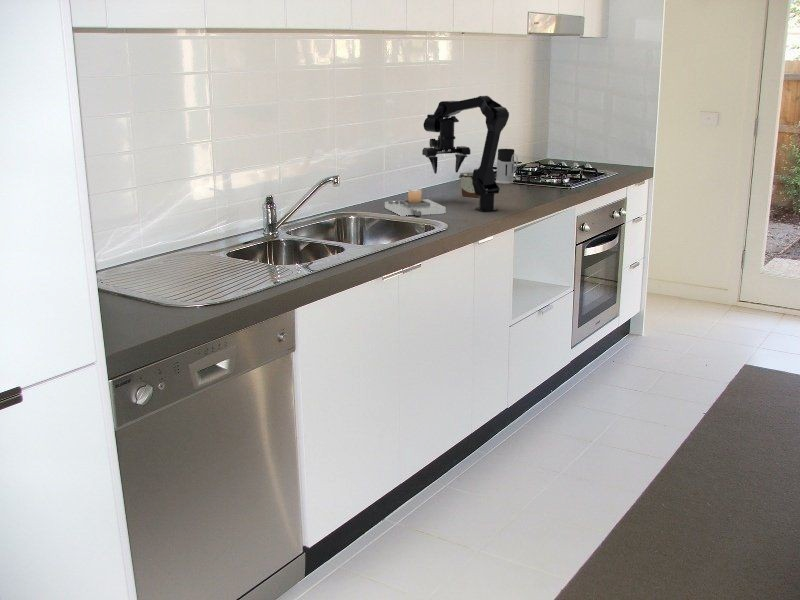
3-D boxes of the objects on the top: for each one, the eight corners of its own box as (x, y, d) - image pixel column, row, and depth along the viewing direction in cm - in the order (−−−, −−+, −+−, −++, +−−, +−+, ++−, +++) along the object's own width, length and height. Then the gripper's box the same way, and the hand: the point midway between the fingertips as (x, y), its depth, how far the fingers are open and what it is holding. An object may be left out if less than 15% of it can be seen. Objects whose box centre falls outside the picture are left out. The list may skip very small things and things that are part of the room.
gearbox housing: (448, 215, 331) (448, 205, 330) (403, 217, 325) (403, 208, 324) (427, 205, 350) (427, 196, 349) (384, 208, 344) (384, 199, 343)
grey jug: (508, 180, 415) (509, 148, 411) (524, 184, 403) (525, 151, 399) (491, 181, 412) (493, 148, 408) (507, 185, 400) (509, 152, 395)
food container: (491, 197, 369) (492, 173, 366) (485, 199, 364) (485, 175, 361) (464, 194, 375) (465, 171, 372) (458, 197, 370) (458, 173, 367)
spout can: (423, 211, 337) (423, 190, 335) (410, 212, 336) (411, 191, 334) (416, 208, 344) (417, 187, 341) (404, 209, 342) (404, 188, 340)
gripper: (459, 130, 359) (458, 169, 363) (417, 132, 352) (416, 171, 356) (471, 133, 349) (470, 173, 353) (428, 134, 342) (427, 175, 347)
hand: (446, 173), depth 353 cm, fingers open, 9 cm apart
